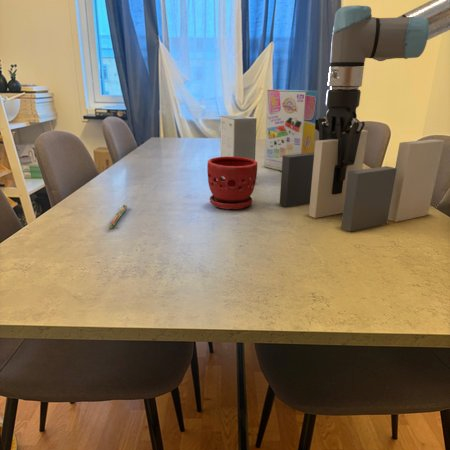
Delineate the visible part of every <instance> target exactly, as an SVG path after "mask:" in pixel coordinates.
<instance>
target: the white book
mask: <svg viewBox="0 0 450 450" xmlns="http://www.w3.org/2000/svg"><path fill="white" fill-rule="evenodd" d="M359 144H360V139H359ZM359 144H358V148H357V153H356V158H355V162H354V165H350V166H348V167H347V169H346V177H345V180H344V181H343V188H342V193H340V194H332V186H333V178H334V169H335V165H337V164H338V139H330V140H319V141H315V152H314V163H313V174H312V185H311V196H310V203H309V208H308V217H310V218H313V219H317V218H323V217H328V216H332V215H339V214H343V209H344V202H345V194H346V187H347V179H348V171H354V170H356V166H357V159H358V152H359Z"/></svg>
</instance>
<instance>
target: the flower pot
mask: <svg viewBox="0 0 450 450" xmlns="http://www.w3.org/2000/svg"><path fill="white" fill-rule="evenodd" d="M206 164H207V167H206V168H207V184H208V187H209V191H210V192H211V194H212V195H211V196H209V202H210V203H211V205H213V206H214V207H216V208H218V209H219V208H220V209H223V210H240V209H244V208H245V209H246V208H247V207H249V206H250V205H251V204H252V203H253V198H252V194H253V192H254V189H255V186H256V182H257V176H258V161H256V159H255V160H253V159H249V158H244V157H230V156H225V157H221V156H216V157H212V158H210V159H208V160H207V163H206ZM222 176H223V177H224V178H225V179H224V178H223V177H222ZM250 178H251V179H250Z"/></svg>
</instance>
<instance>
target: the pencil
mask: <svg viewBox="0 0 450 450" xmlns="http://www.w3.org/2000/svg"><path fill="white" fill-rule="evenodd" d="M127 208H128V205H126V204H122V206H121V208H120V209H119V210H118V212H117V213H116V214H115V216H114V217H113V218H112V219H111V221H110V223H109V224H108V229H113V228H114V226H115V225H116V224H117V222H118V221H119V220H120V218H121V217H122V216H123V214H124V212H125V211H126V210H127Z"/></svg>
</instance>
